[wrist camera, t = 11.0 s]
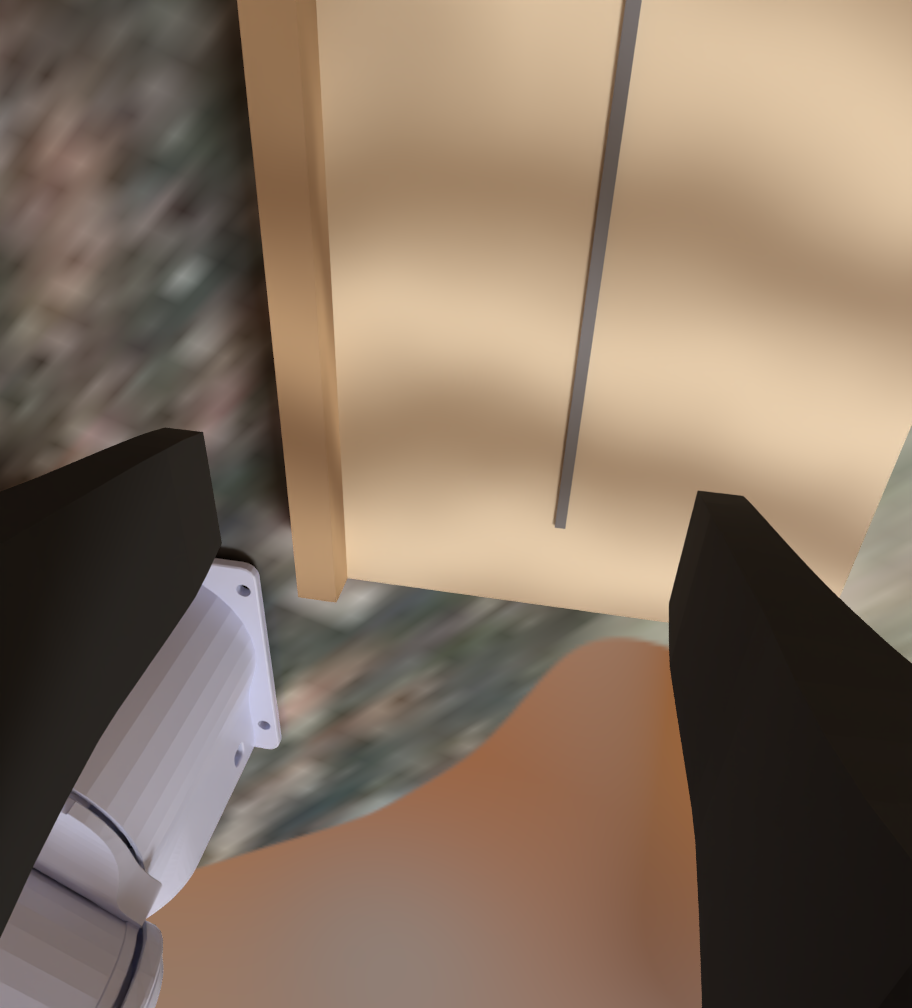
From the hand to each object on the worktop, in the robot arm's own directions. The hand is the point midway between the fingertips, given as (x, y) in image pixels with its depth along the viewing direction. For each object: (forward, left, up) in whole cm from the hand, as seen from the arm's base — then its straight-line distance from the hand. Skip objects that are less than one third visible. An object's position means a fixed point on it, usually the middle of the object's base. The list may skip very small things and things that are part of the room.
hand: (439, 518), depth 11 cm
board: (+2, -2, -10) cm, 11 cm away
